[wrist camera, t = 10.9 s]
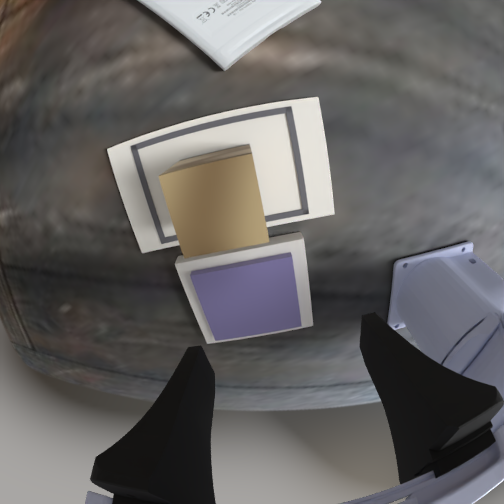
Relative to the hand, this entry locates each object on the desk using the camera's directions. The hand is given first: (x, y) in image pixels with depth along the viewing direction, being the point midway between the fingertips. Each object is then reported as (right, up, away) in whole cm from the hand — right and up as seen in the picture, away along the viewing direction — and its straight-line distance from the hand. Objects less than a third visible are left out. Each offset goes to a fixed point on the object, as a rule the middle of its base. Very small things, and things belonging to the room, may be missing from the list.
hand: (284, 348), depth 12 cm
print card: (-3, +9, +6) cm, 11 cm away
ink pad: (-2, +1, +10) cm, 10 cm away
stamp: (-3, +8, +6) cm, 11 cm away
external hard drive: (-4, +22, 0) cm, 23 cm away
